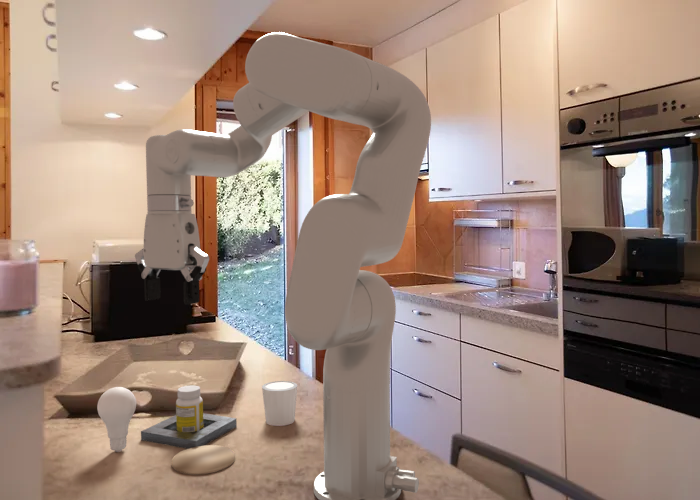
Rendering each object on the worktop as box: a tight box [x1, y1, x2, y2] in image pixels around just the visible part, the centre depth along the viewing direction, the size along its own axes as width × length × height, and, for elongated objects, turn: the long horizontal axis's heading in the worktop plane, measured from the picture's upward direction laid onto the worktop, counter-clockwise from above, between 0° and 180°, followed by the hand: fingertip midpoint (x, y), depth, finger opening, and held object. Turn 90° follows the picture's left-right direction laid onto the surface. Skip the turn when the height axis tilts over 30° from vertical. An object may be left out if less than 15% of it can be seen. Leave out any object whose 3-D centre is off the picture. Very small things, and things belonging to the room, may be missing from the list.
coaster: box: [171, 444, 236, 475], centre depth 93 cm, size 10×10×1 cm
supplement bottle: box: [175, 385, 205, 434], centre depth 105 cm, size 5×5×8 cm
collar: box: [140, 412, 238, 450], centre depth 105 cm, size 12×12×2 cm
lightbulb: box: [96, 386, 137, 453], centre depth 97 cm, size 6×6×11 cm
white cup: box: [261, 380, 298, 427], centre depth 112 cm, size 7×7×7 cm
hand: (171, 301), depth 103 cm, fingers open, 9 cm apart
